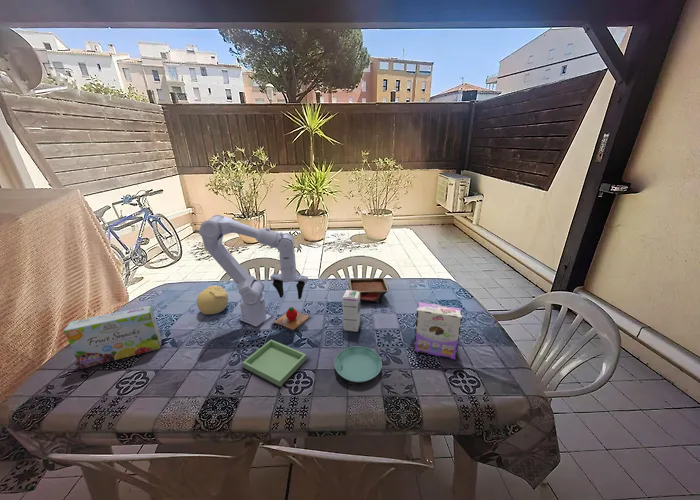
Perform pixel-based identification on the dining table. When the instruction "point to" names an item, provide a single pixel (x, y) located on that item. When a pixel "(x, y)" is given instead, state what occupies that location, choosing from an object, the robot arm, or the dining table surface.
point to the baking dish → (369, 288)
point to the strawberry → (291, 314)
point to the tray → (275, 362)
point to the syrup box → (351, 310)
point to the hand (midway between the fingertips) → (290, 297)
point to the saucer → (358, 364)
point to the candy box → (437, 330)
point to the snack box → (113, 336)
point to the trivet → (292, 324)
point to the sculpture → (212, 300)
